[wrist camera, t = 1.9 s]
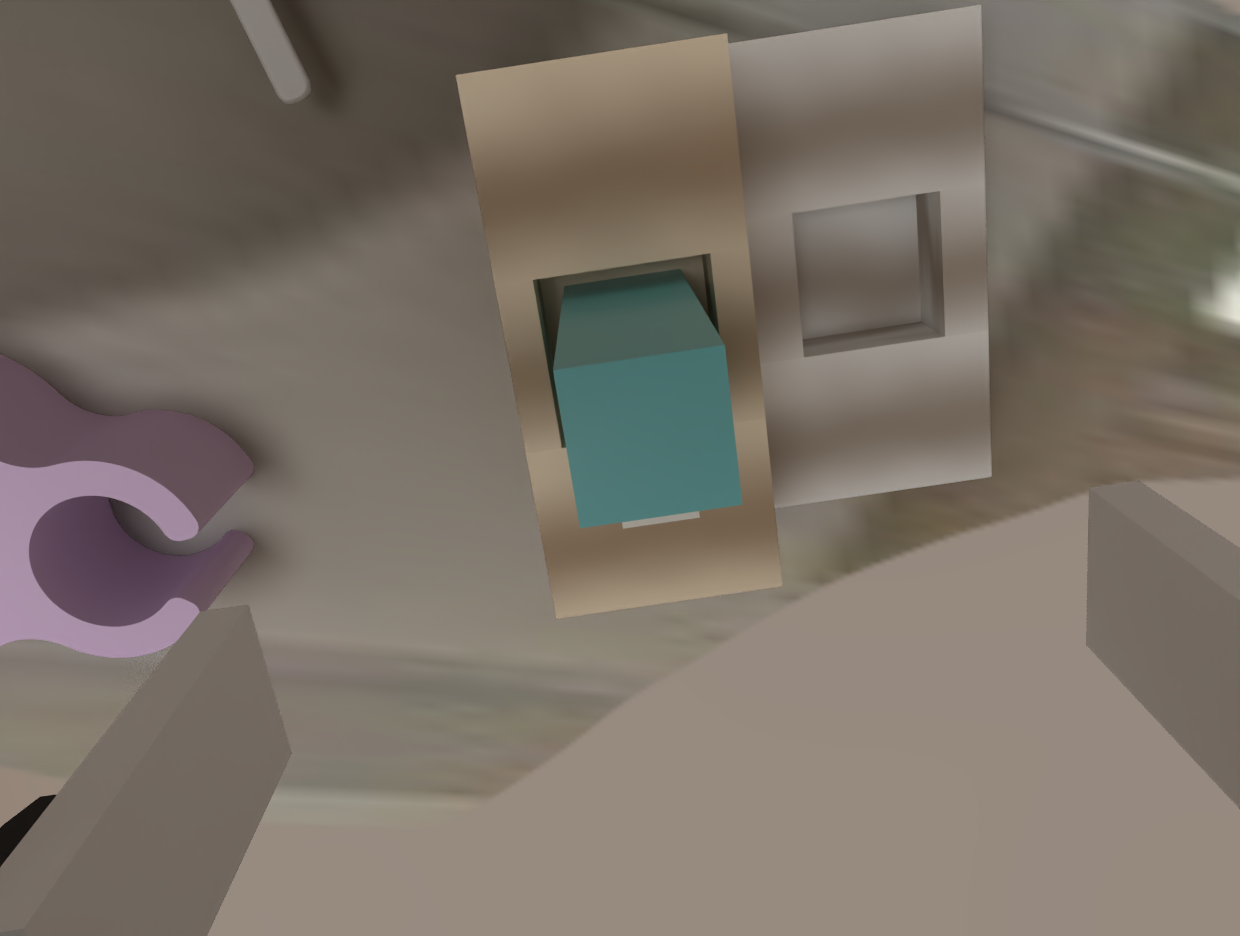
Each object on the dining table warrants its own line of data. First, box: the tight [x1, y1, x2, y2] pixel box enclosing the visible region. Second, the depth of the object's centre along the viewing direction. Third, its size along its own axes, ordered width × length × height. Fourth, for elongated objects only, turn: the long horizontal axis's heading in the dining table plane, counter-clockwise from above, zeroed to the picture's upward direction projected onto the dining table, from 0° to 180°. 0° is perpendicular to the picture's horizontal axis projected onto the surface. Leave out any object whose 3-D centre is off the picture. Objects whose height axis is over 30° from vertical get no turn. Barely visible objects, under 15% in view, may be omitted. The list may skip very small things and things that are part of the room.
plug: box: [553, 269, 743, 529], centre depth 30 cm, size 5×4×12 cm
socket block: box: [456, 5, 992, 619], centre depth 38 cm, size 18×18×11 cm
